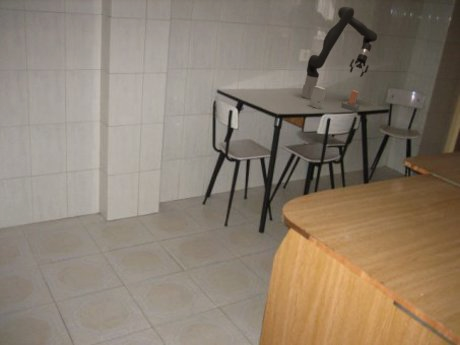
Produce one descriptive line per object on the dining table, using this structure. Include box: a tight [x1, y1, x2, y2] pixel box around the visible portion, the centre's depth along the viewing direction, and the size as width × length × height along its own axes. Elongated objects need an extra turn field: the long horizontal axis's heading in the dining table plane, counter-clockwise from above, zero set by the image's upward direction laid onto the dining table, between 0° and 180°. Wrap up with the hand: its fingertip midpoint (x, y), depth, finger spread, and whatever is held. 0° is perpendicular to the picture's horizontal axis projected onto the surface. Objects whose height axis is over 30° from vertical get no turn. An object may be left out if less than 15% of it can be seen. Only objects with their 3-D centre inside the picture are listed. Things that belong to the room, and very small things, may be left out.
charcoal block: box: [340, 101, 360, 112], centre depth 361 cm, size 11×11×4 cm
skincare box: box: [308, 85, 328, 109], centre depth 343 cm, size 8×6×15 cm
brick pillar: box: [347, 89, 360, 105], centre depth 358 cm, size 5×5×10 cm
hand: (355, 74), depth 369 cm, fingers open, 8 cm apart
